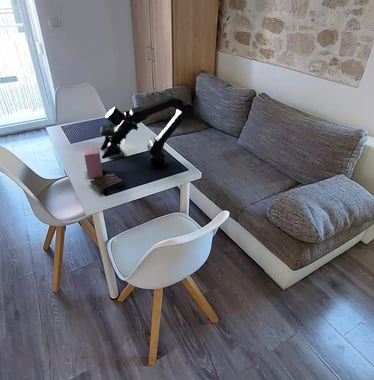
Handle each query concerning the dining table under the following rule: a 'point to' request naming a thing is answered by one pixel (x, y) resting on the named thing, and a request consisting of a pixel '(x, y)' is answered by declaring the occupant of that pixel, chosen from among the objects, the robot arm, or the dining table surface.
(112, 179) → the rack
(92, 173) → the box
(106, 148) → the phone
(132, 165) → the dining table surface
